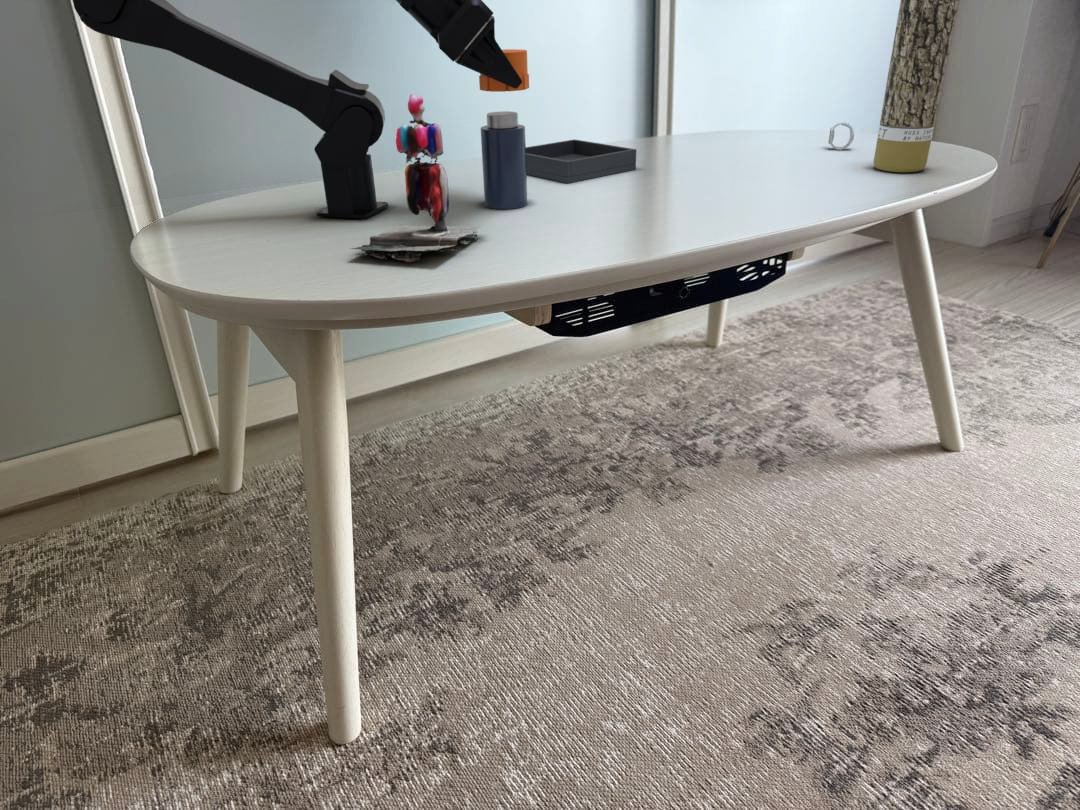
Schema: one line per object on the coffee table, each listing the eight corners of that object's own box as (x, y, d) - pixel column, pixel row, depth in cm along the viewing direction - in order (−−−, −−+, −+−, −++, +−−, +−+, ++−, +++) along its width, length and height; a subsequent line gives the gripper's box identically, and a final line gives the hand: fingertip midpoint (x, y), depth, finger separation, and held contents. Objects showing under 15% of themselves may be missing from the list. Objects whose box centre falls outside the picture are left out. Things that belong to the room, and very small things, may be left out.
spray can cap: (520, 91, 87) (519, 52, 85) (474, 91, 88) (472, 52, 86) (533, 86, 91) (532, 49, 89) (489, 86, 93) (487, 49, 91)
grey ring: (852, 148, 123) (855, 121, 121) (852, 150, 121) (855, 123, 119) (827, 148, 124) (831, 121, 122) (827, 150, 122) (830, 123, 121)
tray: (567, 183, 105) (567, 162, 104) (507, 170, 114) (506, 150, 113) (636, 169, 112) (636, 149, 111) (574, 157, 122) (574, 139, 120)
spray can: (520, 210, 92) (517, 116, 88) (478, 208, 94) (473, 116, 89) (532, 200, 97) (529, 110, 92) (492, 198, 98) (488, 110, 93)
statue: (402, 243, 85) (392, 96, 80) (481, 247, 83) (477, 94, 77) (349, 260, 76) (334, 93, 70) (437, 265, 73) (428, 92, 68)
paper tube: (929, 166, 109) (970, -39, 98) (920, 175, 104) (963, -40, 92) (878, 162, 112) (912, -37, 101) (867, 171, 107) (902, -38, 96)
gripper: (464, -99, 73) (580, 28, 79) (455, -80, 89) (552, 24, 96) (388, -1, 76) (506, 114, 82) (393, -1, 92) (491, 95, 98)
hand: (516, 82), depth 89 cm, fingers closed on spray can cap, 5 cm apart
